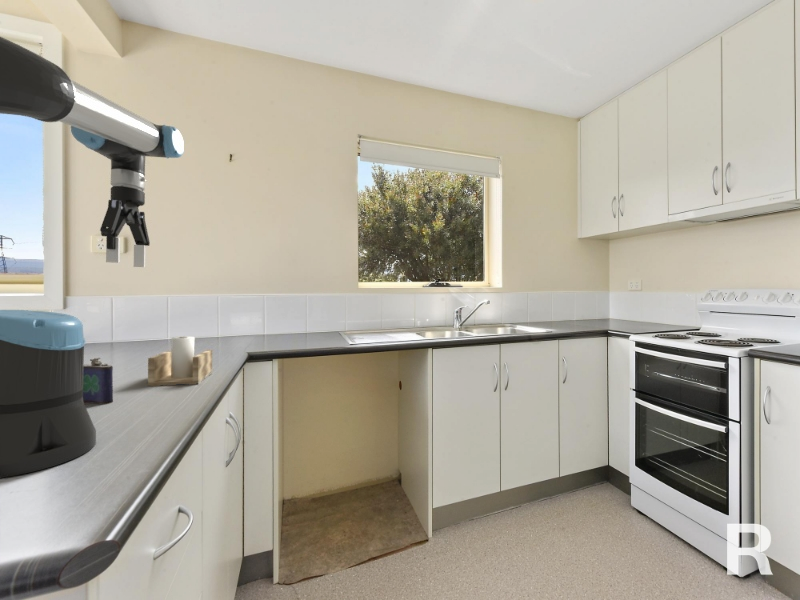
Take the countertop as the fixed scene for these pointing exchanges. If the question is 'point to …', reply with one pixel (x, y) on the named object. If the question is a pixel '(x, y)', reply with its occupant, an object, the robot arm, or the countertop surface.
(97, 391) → the flask
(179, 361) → the roll
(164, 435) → the countertop surface
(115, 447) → the countertop surface
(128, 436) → the countertop surface
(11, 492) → the countertop surface
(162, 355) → the holder
